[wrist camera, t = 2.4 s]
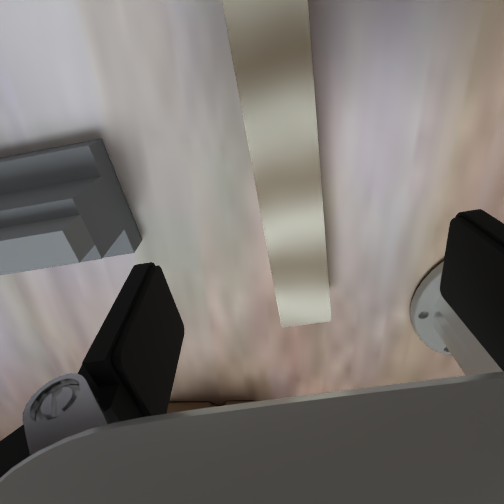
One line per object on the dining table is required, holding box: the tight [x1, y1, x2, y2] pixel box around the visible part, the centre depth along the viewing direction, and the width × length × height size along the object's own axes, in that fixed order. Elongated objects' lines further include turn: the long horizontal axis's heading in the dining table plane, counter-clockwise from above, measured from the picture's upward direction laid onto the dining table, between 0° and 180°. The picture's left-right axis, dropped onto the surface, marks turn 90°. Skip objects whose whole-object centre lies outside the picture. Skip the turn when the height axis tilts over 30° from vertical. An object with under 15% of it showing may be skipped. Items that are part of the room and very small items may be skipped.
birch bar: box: [222, 0, 331, 328], centre depth 21 cm, size 24×4×4 cm, turn 10°
